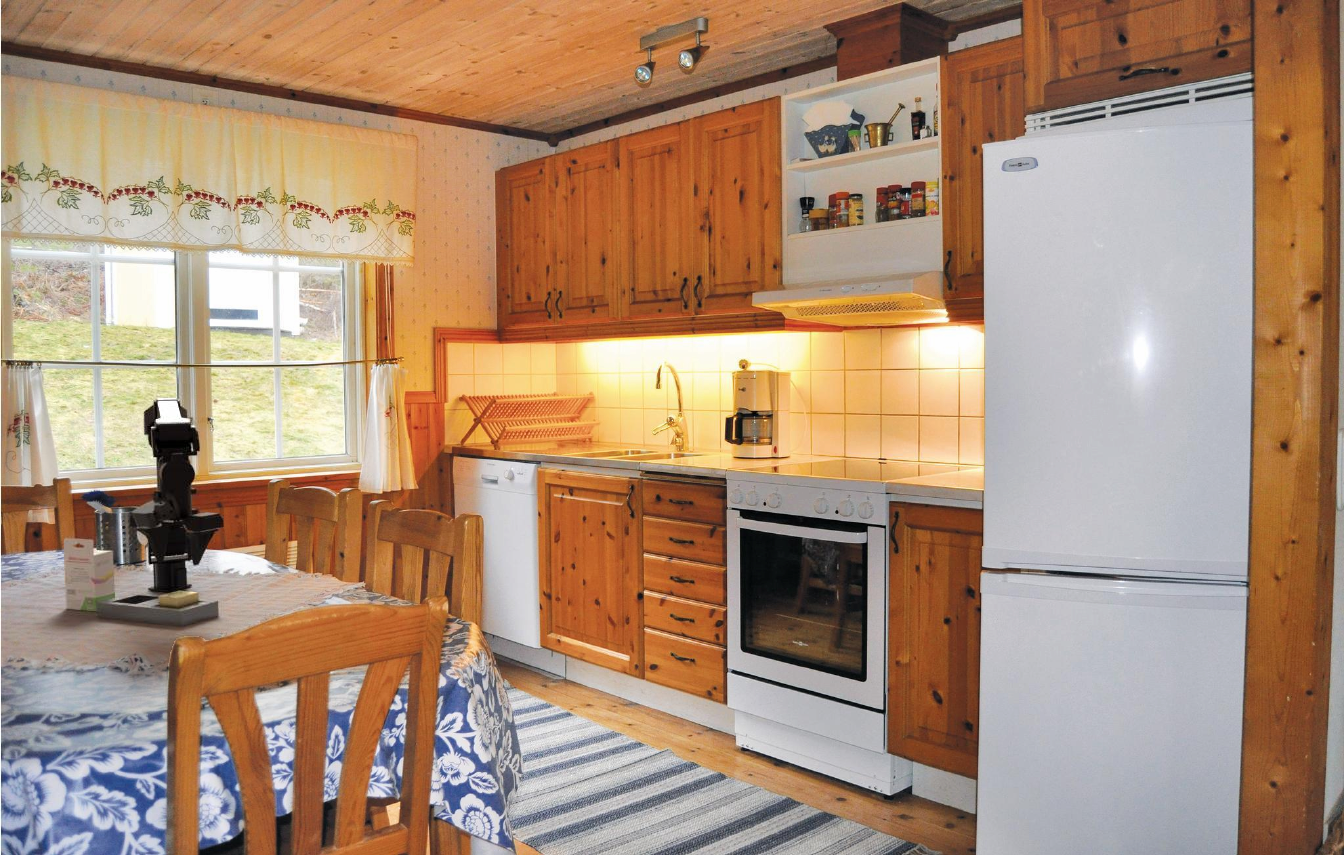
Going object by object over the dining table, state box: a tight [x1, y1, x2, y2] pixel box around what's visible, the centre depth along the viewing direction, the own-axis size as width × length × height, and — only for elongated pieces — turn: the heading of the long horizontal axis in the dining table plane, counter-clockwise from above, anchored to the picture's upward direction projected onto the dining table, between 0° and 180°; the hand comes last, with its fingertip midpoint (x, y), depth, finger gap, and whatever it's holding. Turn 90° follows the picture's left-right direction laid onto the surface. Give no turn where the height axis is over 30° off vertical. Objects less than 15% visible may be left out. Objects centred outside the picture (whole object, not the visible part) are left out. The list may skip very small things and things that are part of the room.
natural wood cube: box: [158, 590, 200, 609], centre depth 198 cm, size 5×5×5 cm
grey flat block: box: [96, 592, 220, 628], centre depth 200 cm, size 22×9×3 cm, turn 69°
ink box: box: [63, 537, 116, 612], centre depth 208 cm, size 9×5×15 cm, turn 71°
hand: (178, 563), depth 198 cm, fingers open, 9 cm apart
